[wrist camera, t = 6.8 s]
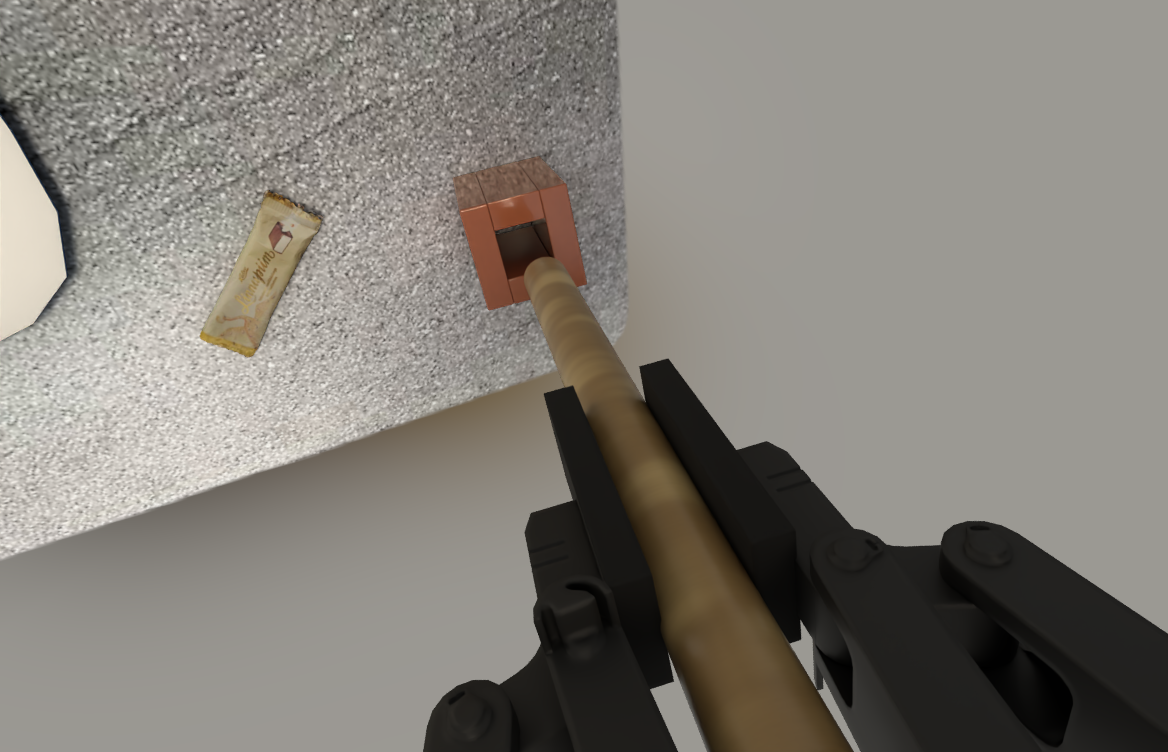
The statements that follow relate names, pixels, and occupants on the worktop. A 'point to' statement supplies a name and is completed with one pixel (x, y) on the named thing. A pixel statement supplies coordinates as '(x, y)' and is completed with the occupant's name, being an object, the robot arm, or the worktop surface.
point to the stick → (684, 552)
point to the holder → (508, 203)
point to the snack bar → (260, 275)
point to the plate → (26, 239)
